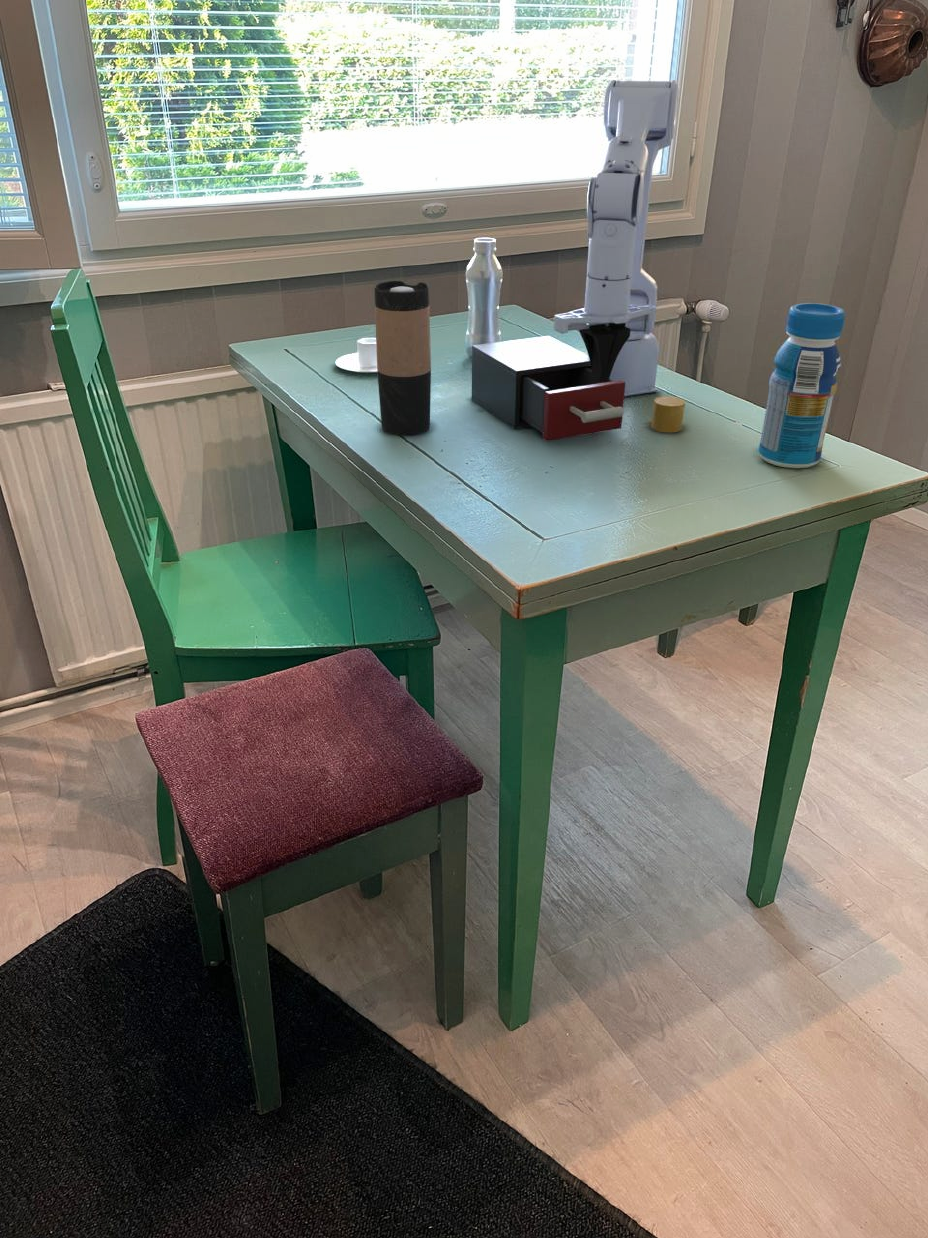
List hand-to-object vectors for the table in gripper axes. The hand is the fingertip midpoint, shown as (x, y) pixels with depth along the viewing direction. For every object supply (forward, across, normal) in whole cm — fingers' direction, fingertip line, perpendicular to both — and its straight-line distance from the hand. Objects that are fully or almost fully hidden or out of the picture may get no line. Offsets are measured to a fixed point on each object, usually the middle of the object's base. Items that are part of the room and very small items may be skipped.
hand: (600, 380), depth 127 cm
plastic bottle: (+10, +4, +45) cm, 46 cm away
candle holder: (+10, -16, +49) cm, 52 cm away
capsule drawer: (+8, -1, +6) cm, 11 cm away
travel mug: (+10, -22, +18) cm, 29 cm away
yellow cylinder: (+9, +13, +2) cm, 16 cm away
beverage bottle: (+10, +22, -15) cm, 28 cm away
